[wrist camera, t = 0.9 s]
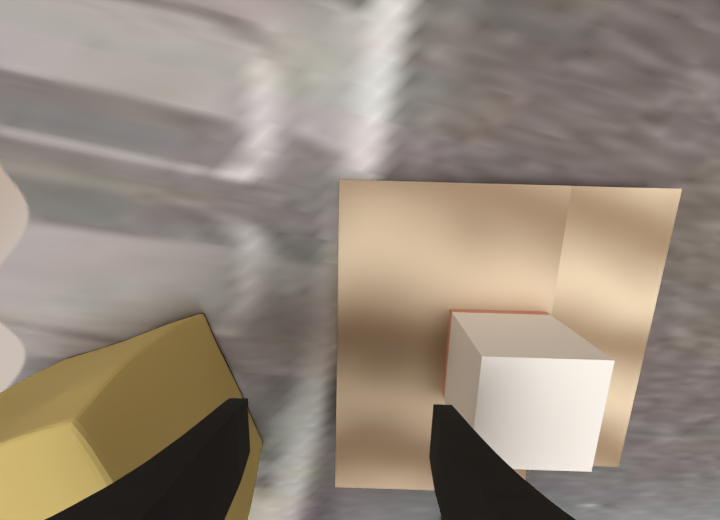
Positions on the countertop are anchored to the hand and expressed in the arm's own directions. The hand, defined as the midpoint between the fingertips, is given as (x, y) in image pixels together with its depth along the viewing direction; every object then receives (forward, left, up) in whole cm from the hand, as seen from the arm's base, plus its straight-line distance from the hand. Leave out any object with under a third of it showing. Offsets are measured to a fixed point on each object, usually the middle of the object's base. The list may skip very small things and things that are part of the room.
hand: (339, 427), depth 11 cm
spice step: (0, -8, -9) cm, 12 cm away
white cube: (0, -7, -5) cm, 9 cm away
